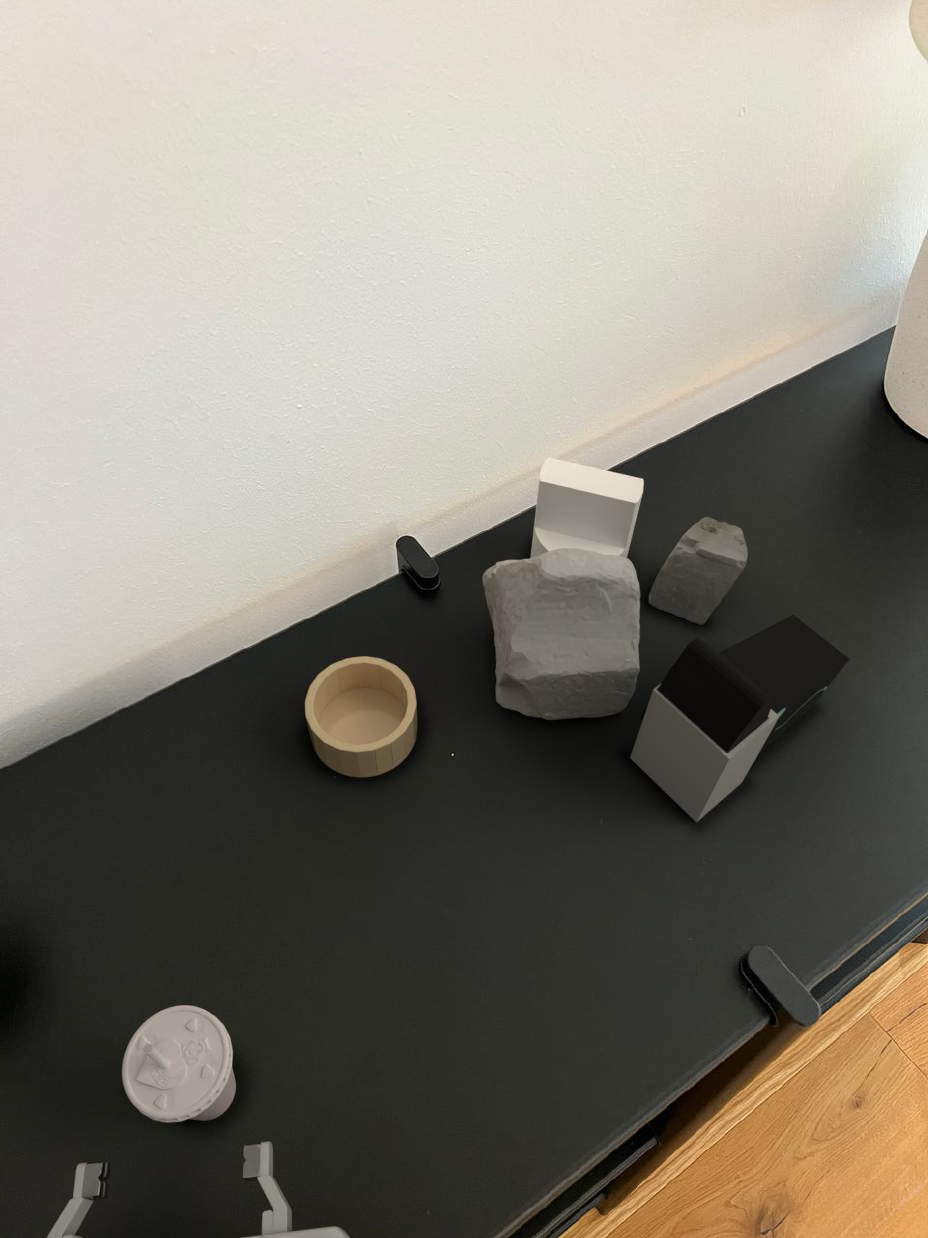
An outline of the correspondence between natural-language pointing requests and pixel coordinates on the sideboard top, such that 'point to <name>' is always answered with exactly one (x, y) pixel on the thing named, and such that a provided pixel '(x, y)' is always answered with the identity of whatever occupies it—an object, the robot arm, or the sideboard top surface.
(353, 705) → the tan hollow round container
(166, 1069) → the smoothie
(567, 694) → the stone
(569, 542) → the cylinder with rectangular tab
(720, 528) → the mineral specimen
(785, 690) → the decorative object
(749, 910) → the sideboard top surface
